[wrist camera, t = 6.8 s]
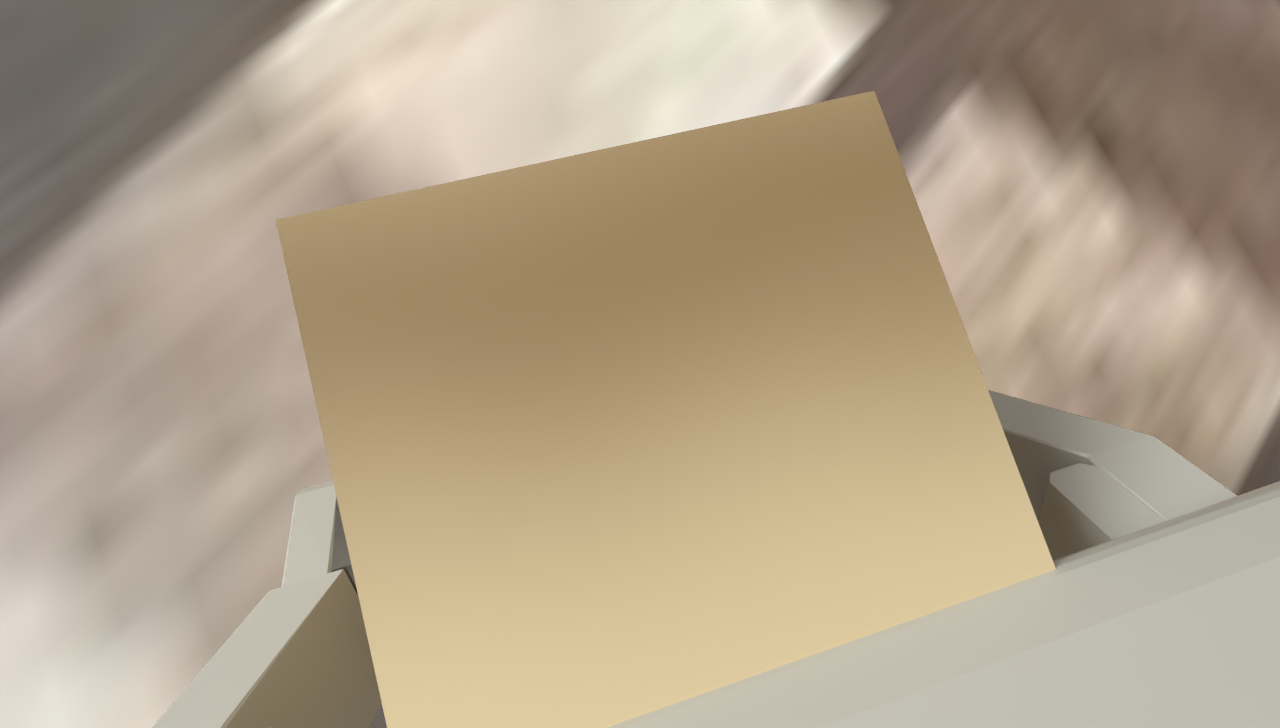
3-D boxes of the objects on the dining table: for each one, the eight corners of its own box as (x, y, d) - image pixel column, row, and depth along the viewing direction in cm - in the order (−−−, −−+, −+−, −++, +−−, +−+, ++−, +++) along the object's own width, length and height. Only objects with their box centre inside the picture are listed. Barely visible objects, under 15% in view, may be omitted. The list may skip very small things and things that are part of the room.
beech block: (750, 577, 15) (1097, 679, 6) (513, 654, 14) (433, 933, 5) (680, 350, 16) (873, 90, 6) (453, 410, 15) (275, 218, 6)
